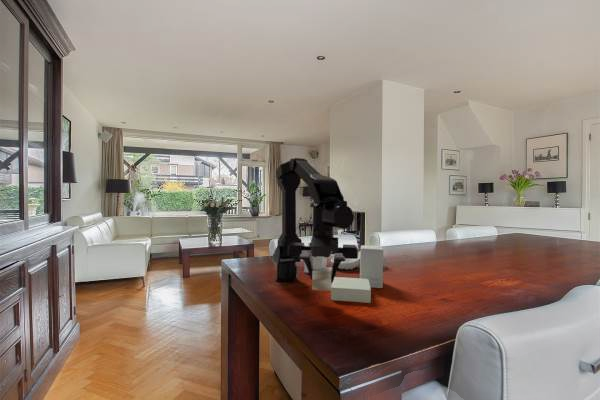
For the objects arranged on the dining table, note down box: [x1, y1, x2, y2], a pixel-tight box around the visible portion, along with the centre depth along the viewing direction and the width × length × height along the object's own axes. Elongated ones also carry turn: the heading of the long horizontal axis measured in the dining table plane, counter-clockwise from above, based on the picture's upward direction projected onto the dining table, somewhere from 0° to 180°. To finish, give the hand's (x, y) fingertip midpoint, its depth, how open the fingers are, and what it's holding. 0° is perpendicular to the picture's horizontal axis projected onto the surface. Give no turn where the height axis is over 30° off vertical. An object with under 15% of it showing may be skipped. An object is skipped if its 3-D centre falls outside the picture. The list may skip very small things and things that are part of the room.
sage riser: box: [330, 276, 372, 304], centre depth 89 cm, size 11×11×4 cm
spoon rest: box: [330, 251, 387, 271], centre depth 123 cm, size 24×12×7 cm, turn 105°
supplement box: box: [359, 244, 384, 289], centre depth 100 cm, size 7×7×13 cm
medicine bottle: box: [303, 240, 328, 274], centre depth 115 cm, size 7×7×12 cm
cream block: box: [311, 266, 333, 292], centre depth 81 cm, size 5×5×5 cm
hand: (322, 281), depth 81 cm, fingers closed on cream block, 5 cm apart
